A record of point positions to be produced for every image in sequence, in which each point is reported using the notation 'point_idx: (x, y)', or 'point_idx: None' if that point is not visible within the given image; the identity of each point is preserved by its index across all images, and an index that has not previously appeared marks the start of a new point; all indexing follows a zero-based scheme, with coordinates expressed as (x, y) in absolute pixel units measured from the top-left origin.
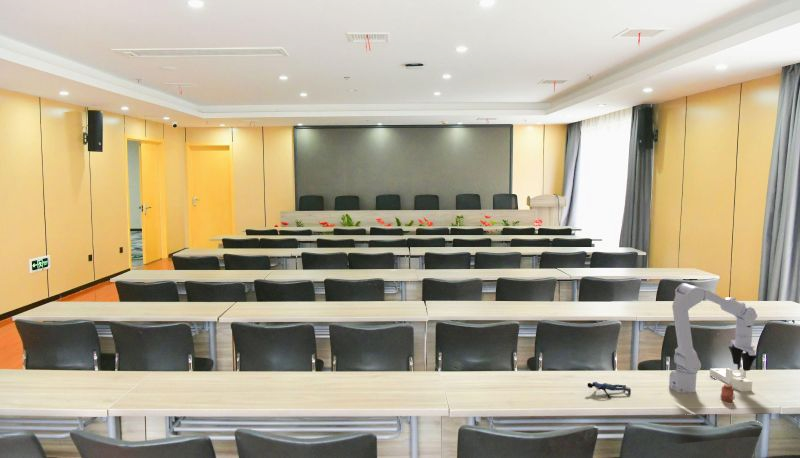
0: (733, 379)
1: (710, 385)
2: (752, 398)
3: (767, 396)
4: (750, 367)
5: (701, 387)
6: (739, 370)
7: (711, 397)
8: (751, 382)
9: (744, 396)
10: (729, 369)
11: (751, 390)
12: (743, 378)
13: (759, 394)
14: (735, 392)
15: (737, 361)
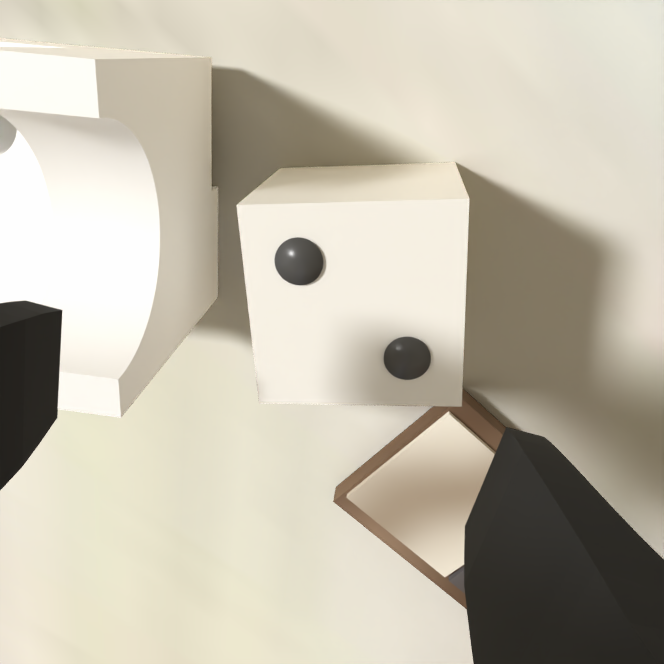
0: (291, 394)
1: (163, 460)
2: (617, 300)
3: (632, 14)
4: (592, 491)
5: (214, 572)
6: (9, 113)
7: (464, 656)
8: (466, 210)
9: (532, 346)
10: (89, 404)
11: (456, 171)
12: (316, 253)
13: (530, 83)
14: (465, 429)
15: (17, 395)
